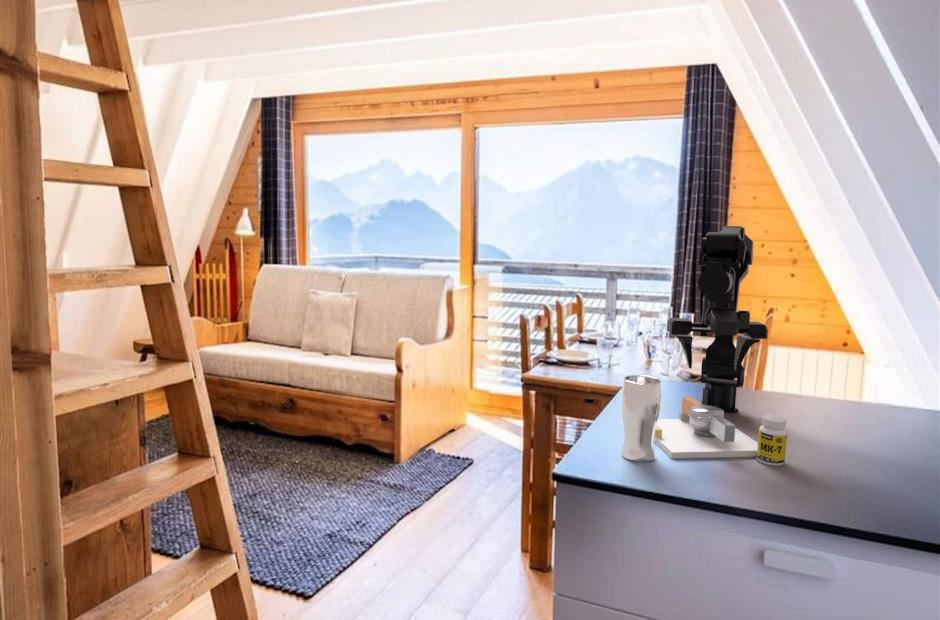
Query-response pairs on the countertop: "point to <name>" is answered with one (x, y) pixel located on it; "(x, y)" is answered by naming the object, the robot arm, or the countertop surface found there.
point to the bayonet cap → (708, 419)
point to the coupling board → (699, 441)
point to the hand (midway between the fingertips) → (712, 369)
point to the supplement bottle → (772, 440)
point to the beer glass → (640, 416)
